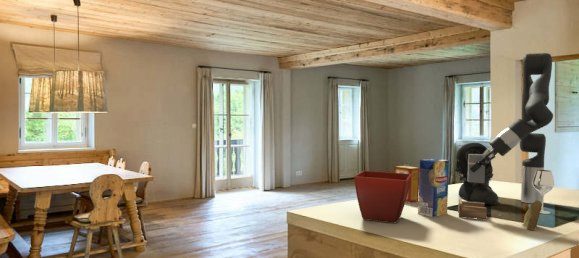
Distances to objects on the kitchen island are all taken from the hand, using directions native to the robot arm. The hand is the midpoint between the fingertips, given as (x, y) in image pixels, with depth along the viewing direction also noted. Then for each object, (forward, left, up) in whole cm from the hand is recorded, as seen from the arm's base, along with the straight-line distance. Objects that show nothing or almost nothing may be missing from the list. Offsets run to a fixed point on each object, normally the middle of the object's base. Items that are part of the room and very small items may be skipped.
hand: (471, 169), depth 180 cm
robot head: (-40, +4, -19) cm, 45 cm away
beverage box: (+4, -14, -19) cm, 24 cm away
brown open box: (0, +1, -19) cm, 19 cm away
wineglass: (-21, +30, -19) cm, 41 cm away
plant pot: (+22, -32, -19) cm, 43 cm away
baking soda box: (-23, -27, -19) cm, 40 cm away
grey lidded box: (0, +2, -5) cm, 5 cm away
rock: (+12, +20, -19) cm, 30 cm away
